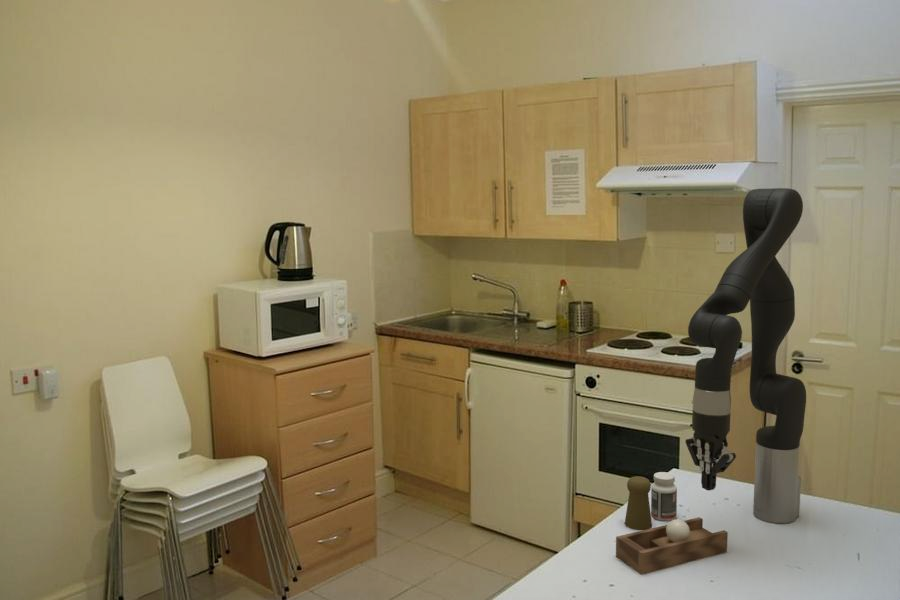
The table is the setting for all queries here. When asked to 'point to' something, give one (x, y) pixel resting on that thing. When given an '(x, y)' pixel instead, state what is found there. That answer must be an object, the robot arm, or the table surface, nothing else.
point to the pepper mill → (638, 504)
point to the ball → (677, 530)
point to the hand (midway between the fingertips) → (708, 488)
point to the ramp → (668, 547)
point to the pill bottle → (664, 497)
